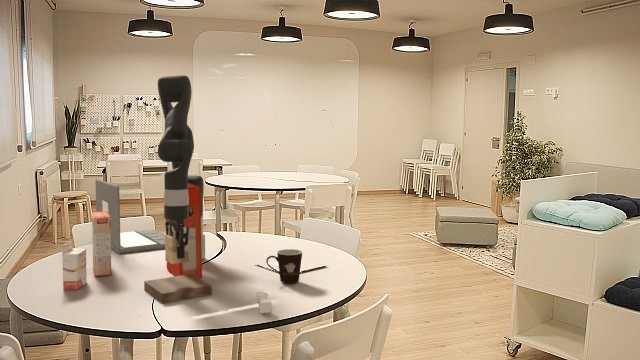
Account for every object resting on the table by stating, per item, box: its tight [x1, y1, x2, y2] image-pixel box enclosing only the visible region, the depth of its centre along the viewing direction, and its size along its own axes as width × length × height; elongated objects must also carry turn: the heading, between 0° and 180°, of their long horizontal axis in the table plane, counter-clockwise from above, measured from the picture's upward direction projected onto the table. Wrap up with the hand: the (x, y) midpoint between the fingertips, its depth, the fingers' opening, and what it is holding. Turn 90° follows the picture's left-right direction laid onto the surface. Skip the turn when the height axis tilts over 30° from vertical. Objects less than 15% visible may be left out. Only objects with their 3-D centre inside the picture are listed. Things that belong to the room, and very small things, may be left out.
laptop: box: [95, 178, 166, 255], centre depth 245 cm, size 35×26×28 cm
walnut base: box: [143, 274, 213, 304], centre depth 176 cm, size 16×16×3 cm
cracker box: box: [91, 211, 112, 277], centre depth 199 cm, size 14×6×21 cm, turn 24°
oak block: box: [164, 234, 189, 264], centre depth 175 cm, size 6×6×8 cm
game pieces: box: [255, 291, 273, 314], centre depth 164 cm, size 12×3×3 cm, turn 13°
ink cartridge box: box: [61, 239, 88, 291], centre depth 181 cm, size 9×5×15 cm, turn 5°
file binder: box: [165, 183, 203, 279], centre depth 196 cm, size 8×17×32 cm, turn 30°
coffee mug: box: [265, 248, 303, 284], centre depth 191 cm, size 12×9×10 cm
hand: (177, 256), depth 175 cm, fingers closed on oak block, 5 cm apart
